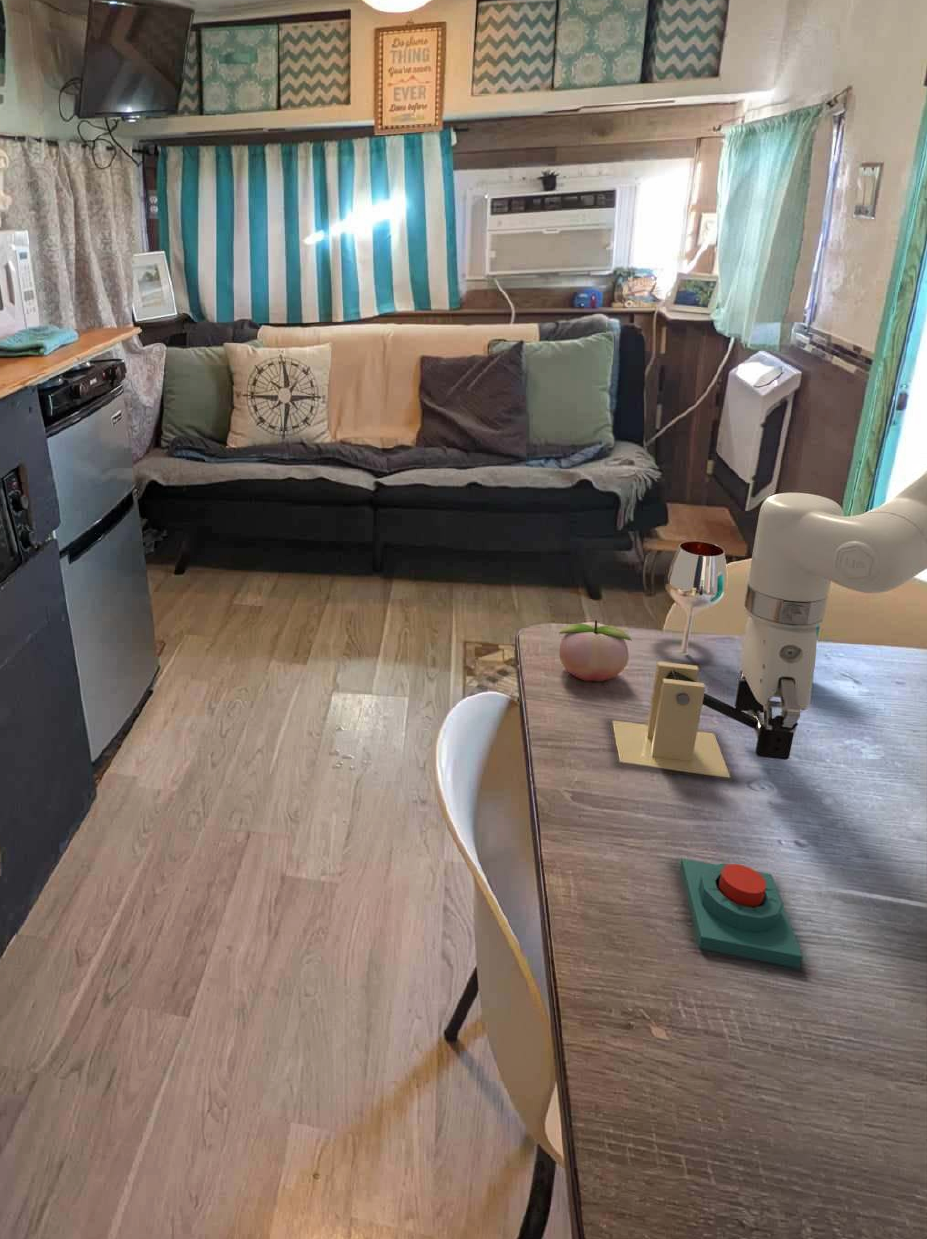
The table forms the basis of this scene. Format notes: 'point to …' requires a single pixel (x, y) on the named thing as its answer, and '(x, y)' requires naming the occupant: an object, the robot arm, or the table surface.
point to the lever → (726, 707)
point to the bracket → (672, 728)
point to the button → (742, 885)
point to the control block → (738, 918)
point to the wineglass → (696, 580)
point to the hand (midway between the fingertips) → (760, 732)
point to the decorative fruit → (593, 651)
